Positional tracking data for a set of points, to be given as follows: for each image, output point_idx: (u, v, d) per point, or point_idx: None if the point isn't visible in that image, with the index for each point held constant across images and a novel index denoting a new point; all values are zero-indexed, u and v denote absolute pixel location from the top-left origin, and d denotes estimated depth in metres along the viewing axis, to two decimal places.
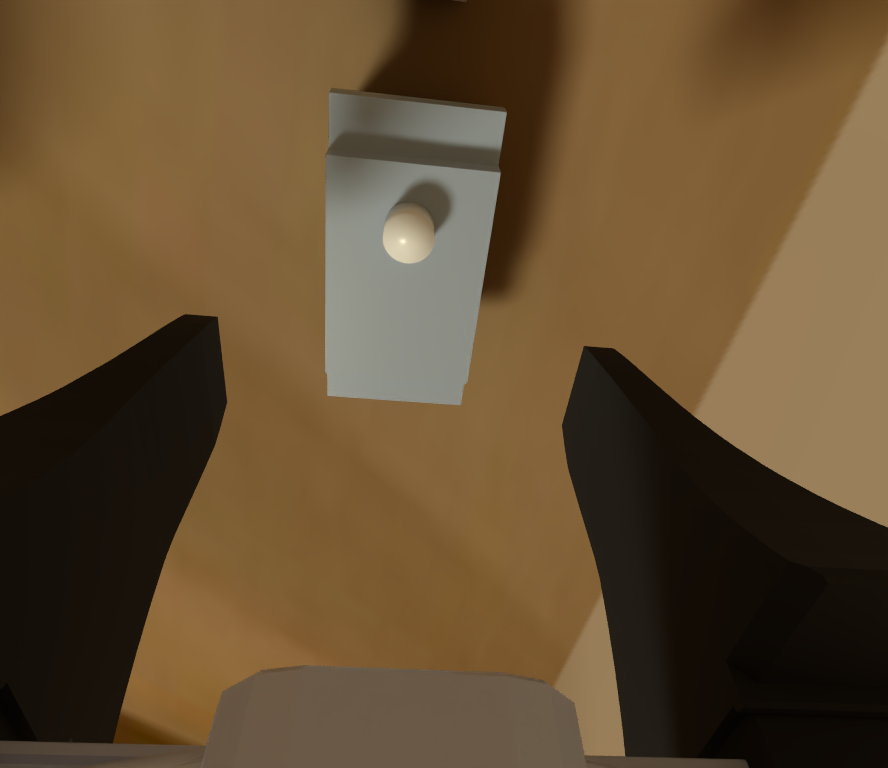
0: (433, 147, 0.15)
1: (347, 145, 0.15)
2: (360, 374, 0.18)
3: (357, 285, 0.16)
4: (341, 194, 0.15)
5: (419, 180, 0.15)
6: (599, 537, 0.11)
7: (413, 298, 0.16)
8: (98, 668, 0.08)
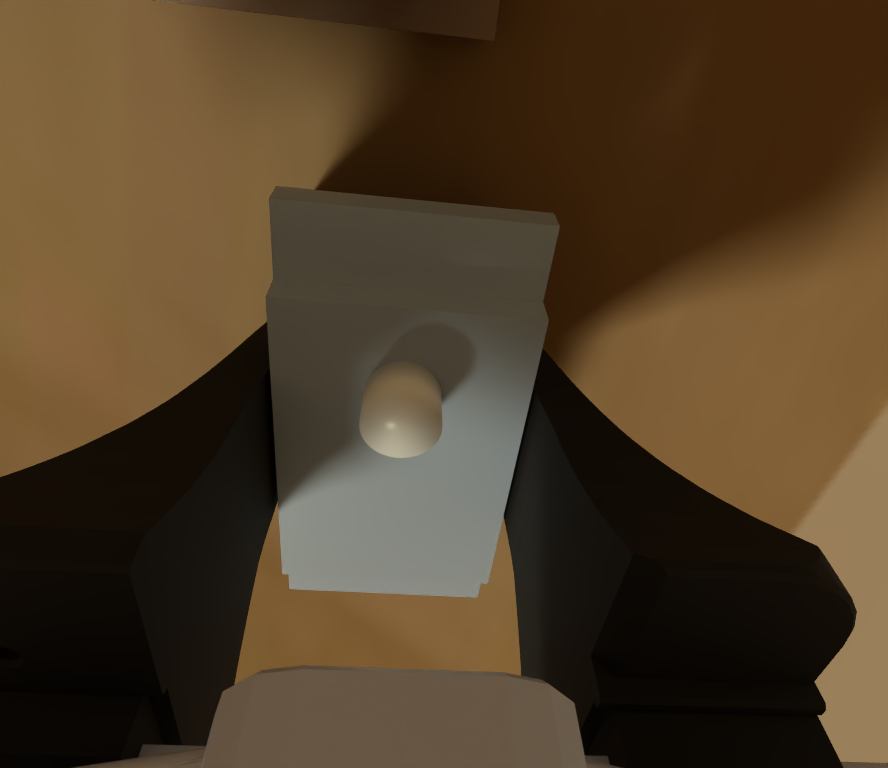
0: (440, 277, 0.09)
1: (304, 275, 0.09)
2: (333, 574, 0.12)
3: (324, 469, 0.11)
4: (293, 352, 0.09)
5: (418, 331, 0.09)
6: (514, 532, 0.11)
7: (409, 485, 0.11)
8: (217, 672, 0.08)
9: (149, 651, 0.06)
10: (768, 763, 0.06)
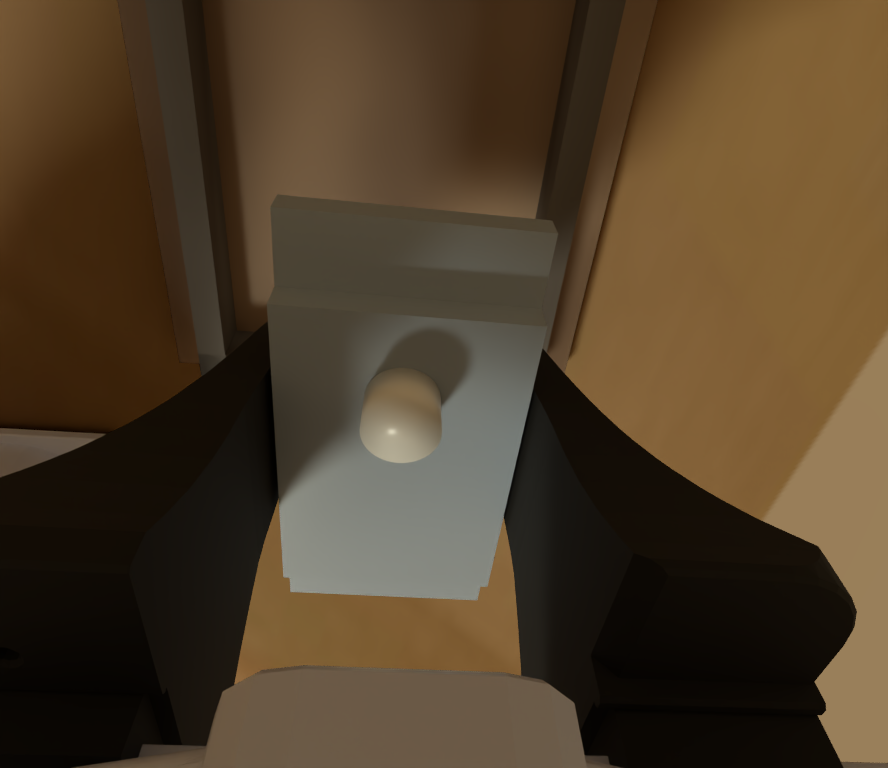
0: (440, 284, 0.09)
1: (304, 282, 0.09)
2: (334, 578, 0.12)
3: (325, 474, 0.11)
4: (294, 358, 0.09)
5: (417, 338, 0.09)
6: (514, 532, 0.11)
7: (410, 490, 0.11)
8: (217, 672, 0.08)
9: (149, 651, 0.06)
10: (768, 763, 0.06)
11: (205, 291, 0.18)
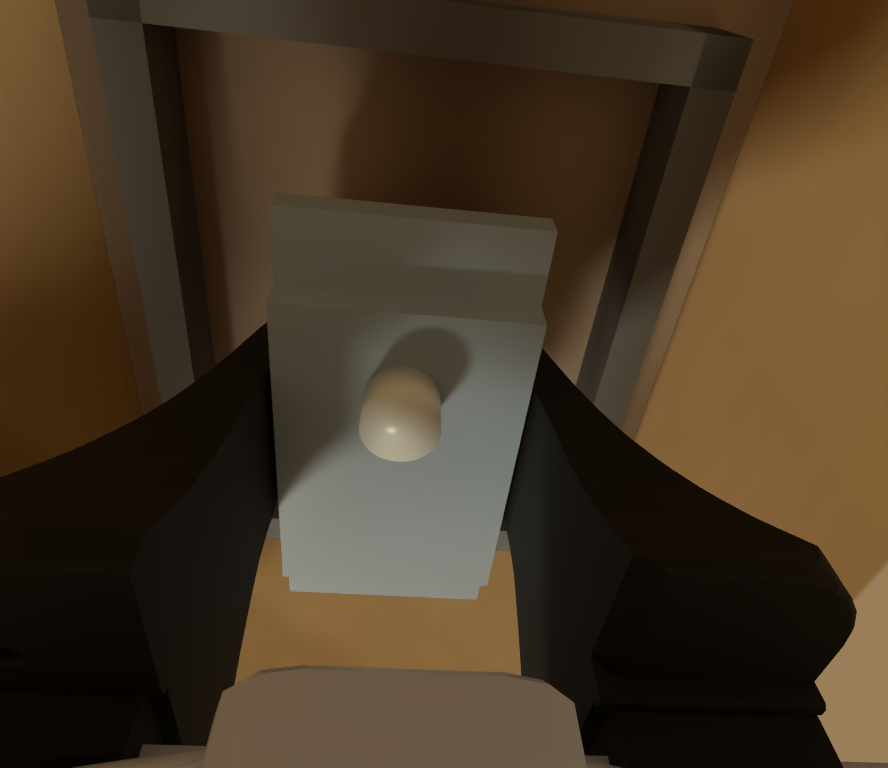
0: (439, 282, 0.09)
1: (303, 280, 0.09)
2: (333, 577, 0.12)
3: (324, 473, 0.11)
4: (294, 357, 0.09)
5: (417, 336, 0.09)
6: (514, 533, 0.11)
7: (410, 488, 0.11)
8: (217, 672, 0.08)
9: (149, 651, 0.06)
10: (768, 763, 0.06)
11: None
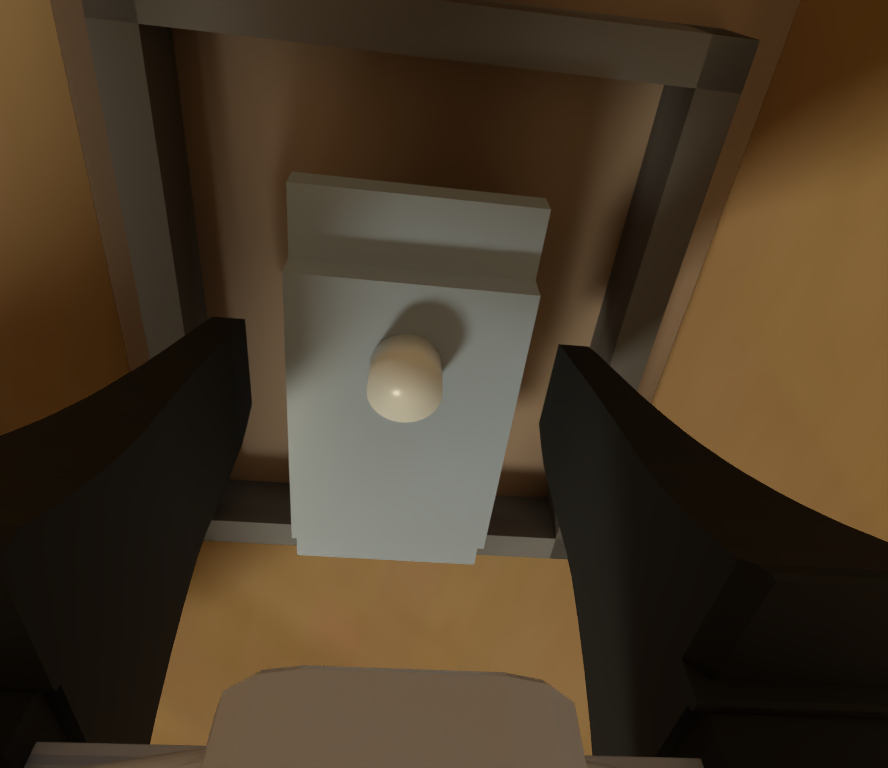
0: (441, 256, 0.10)
1: (316, 253, 0.10)
2: (339, 539, 0.13)
3: (333, 436, 0.12)
4: (306, 324, 0.10)
5: (420, 305, 0.10)
6: (571, 535, 0.11)
7: (412, 452, 0.12)
8: (138, 669, 0.08)
9: (31, 646, 0.06)
10: (865, 765, 0.06)
11: None
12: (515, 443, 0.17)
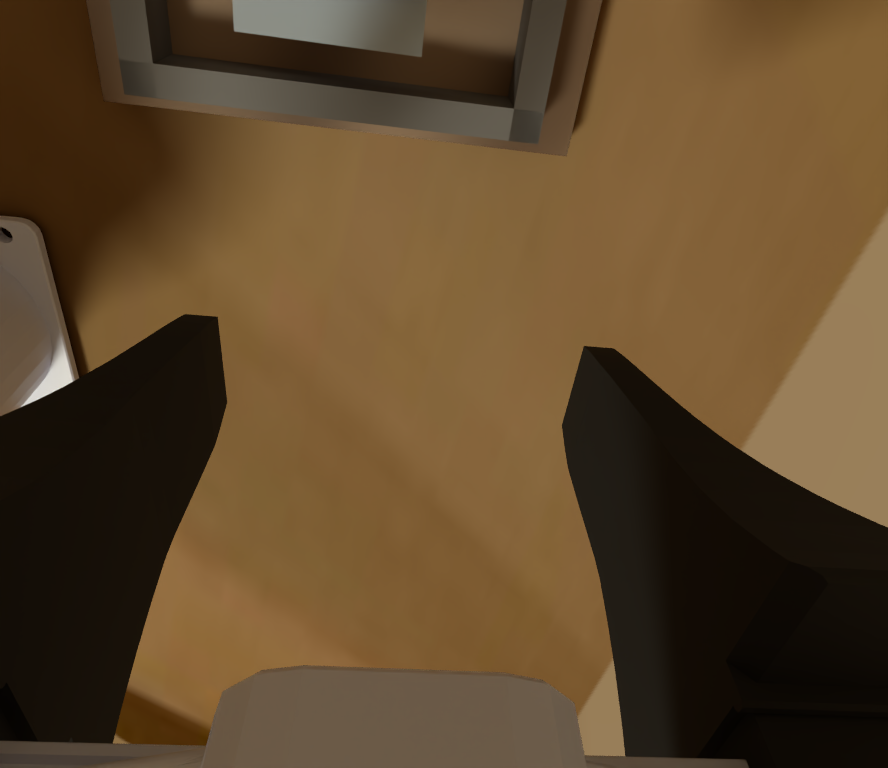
0: None
1: None
2: None
3: None
4: None
5: None
6: (599, 537, 0.11)
7: None
8: (98, 668, 0.08)
9: None
10: None
11: None
12: (473, 8, 0.16)
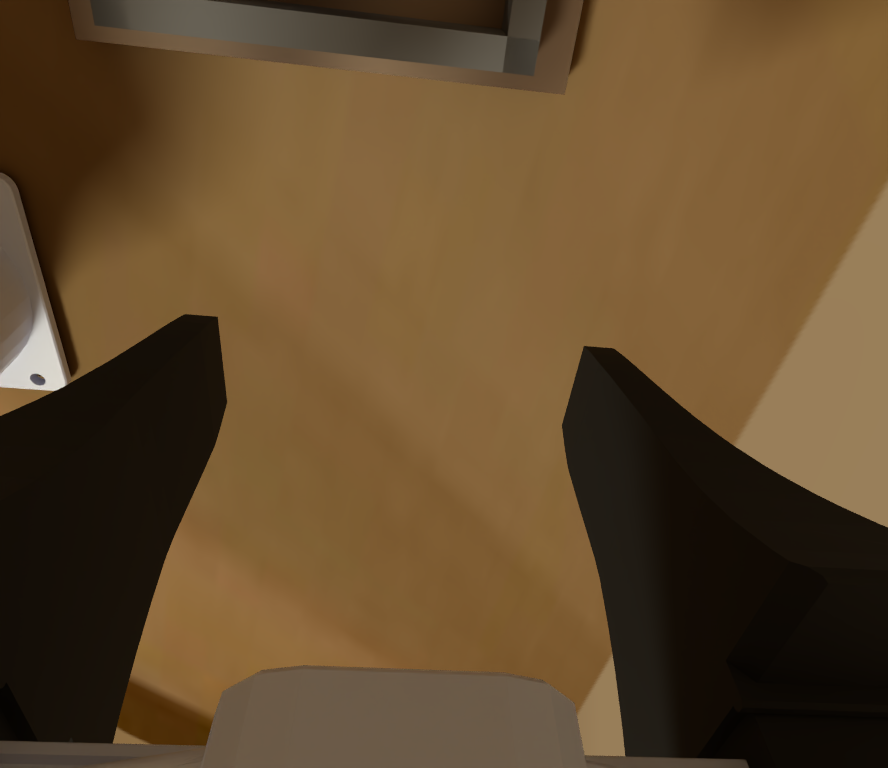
0: None
1: None
2: None
3: None
4: None
5: None
6: (599, 537, 0.11)
7: None
8: (98, 668, 0.08)
9: None
10: None
11: None
12: None
